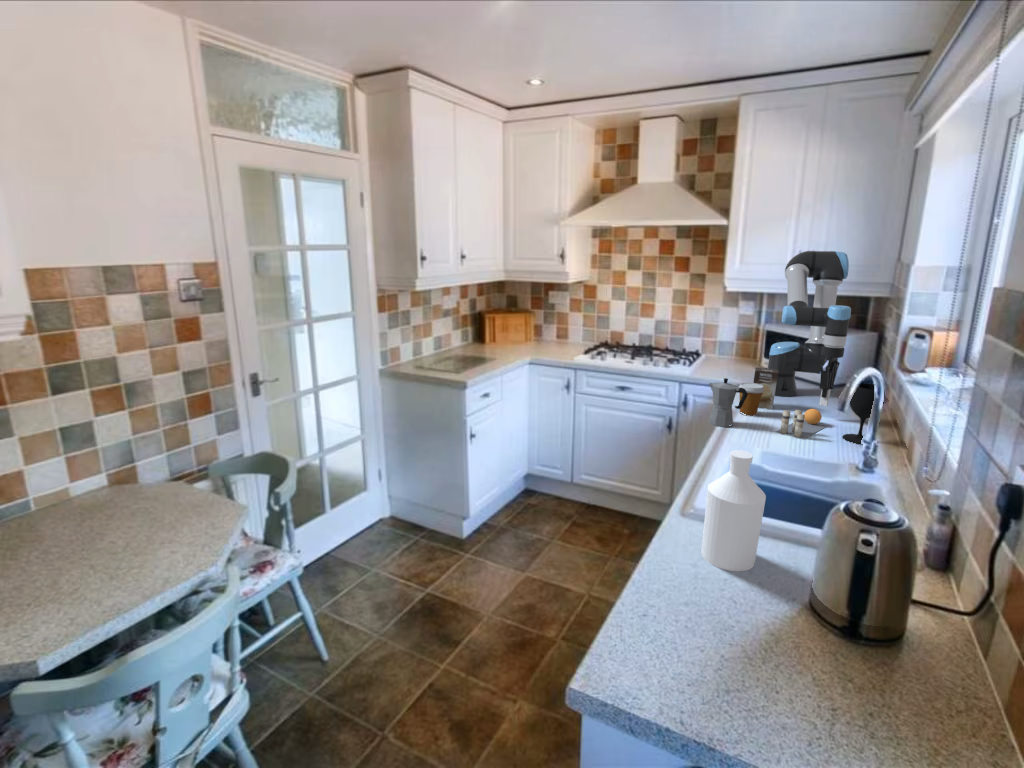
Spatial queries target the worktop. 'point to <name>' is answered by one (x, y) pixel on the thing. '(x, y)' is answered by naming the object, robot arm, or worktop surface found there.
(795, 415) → the front pin
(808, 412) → the ball
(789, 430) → the lane
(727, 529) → the bottle
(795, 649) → the worktop surface
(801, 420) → the back pin left
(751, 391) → the disposable coffee cup
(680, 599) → the worktop surface
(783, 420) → the back pin right
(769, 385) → the coffee box
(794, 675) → the worktop surface
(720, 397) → the coffeepot
